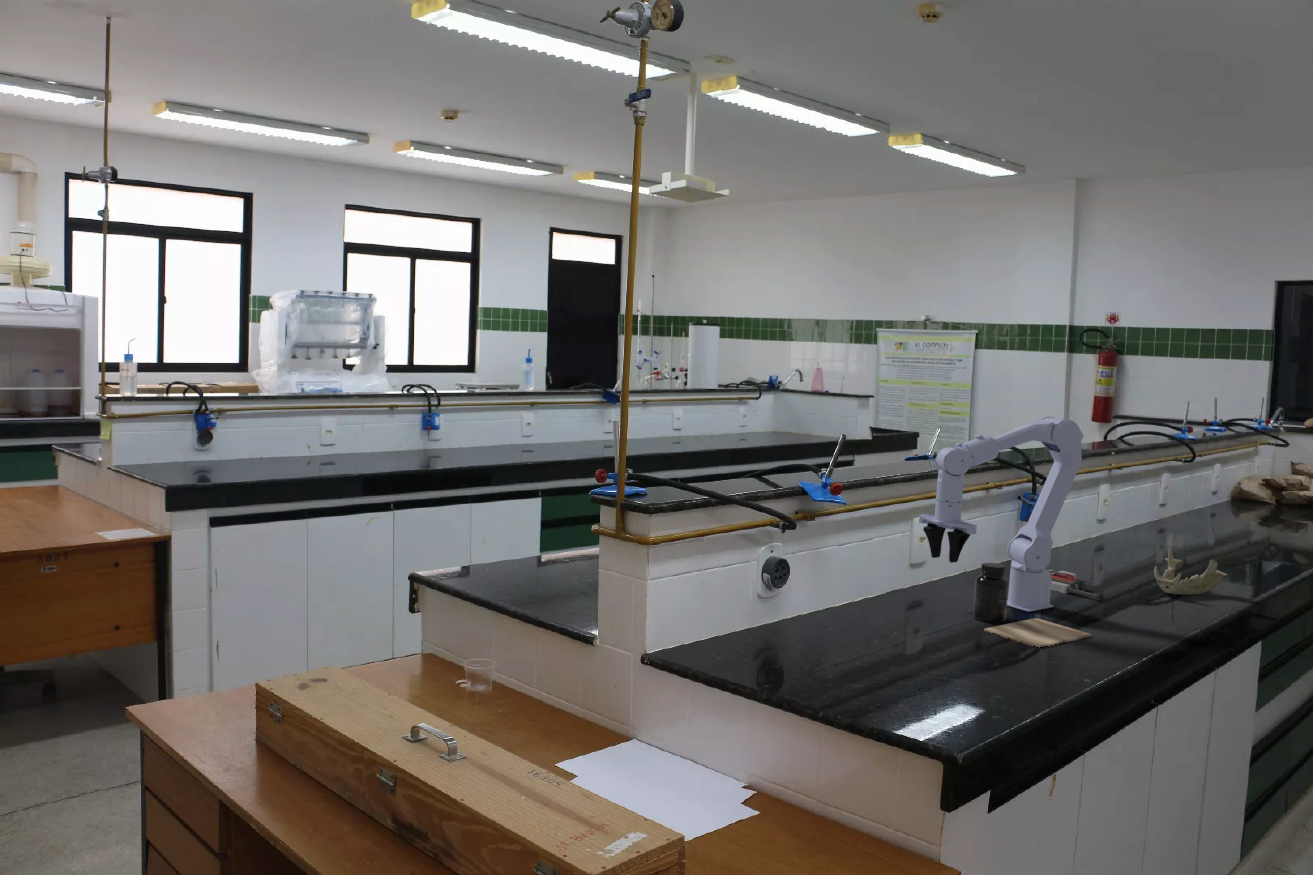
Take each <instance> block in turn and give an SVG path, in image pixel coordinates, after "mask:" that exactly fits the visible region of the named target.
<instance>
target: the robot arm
mask: <svg viewBox="0 0 1313 875" xmlns="http://www.w3.org/2000/svg"><path fill="white" fill-rule="evenodd" d="M1083 438H1084V433H1082V431H1081V428H1080V427H1079V425H1078V424H1077V423H1076V422H1075V421H1074V420H1071V419H1065V418H1064V419H1063V418H1057V417H1054V416H1044V417H1042V418H1041V419H1040V418H1038V419H1033V420H1032V421H1030V422H1027V423H1025V424H1023V425H1020V426H1018V427H1016V428H1013V429H1010V430H1008V431H1007V432H1004V433H1001V434H999V435H997V436H995V437H992V436H990V435H988V434H985V435H983V434H977V435H975V436H974V439H972V440H969V441H966V442H963V443H962V442H957V443H956V444H955V447H948V446H947V447H945V448H941V450H940V451H939V452H937V454H936V457H935V458H934V465H935V467H936V468H937V470H938V472H937V481H936V495H935V505H934V506H935V509H934V510H935V511H934V515H932V514H926V513H925V514H919V520H918V523H919V524H926V526H923V530H922V531H923V533H925V535H926V538H927V542H928V545H929V550H930V555H931V558H932V559H936V558H940V557H941V553H942V543H943V539H944V534H945V532H946V529H948V530H952V531H947V537H948V545H949V551H948V561H949V563H951V564H952V563H953V564H954V563H958V562H959V558H960V555H961V552H962V550H963V548H964V545H966V542H967V541H968V540H969V538H970V537H971V535H976V534H977V528H978V527H977V526H978V525H976V524H972V523H970V522H966V521H964V520H962V508H963V498H964V497H963V496H964V495H963V494H964V484H965V483H964V481H965V480H964V479H965V474H966V472H968V470H969V469H972V468H973V467H976V466H979V465H981V464H984V463H986V462H990V461H992V460H995V459H996V458H997V457H998V455H999V453H1000V452H1002V451H1004V450H1007V449H1011V448H1014V447H1017V446H1019V445H1023V444H1026V443H1029V442H1033V441H1034V442H1035V441H1036V442H1040V443H1041V444H1042V445H1043V446H1045V447H1046V449H1047V450H1048V451H1049V453H1050V455H1051V456H1050V457H1052V459H1053V464H1052V466H1051V469H1050V471H1049V473H1048V475H1047V478H1046V480H1045V482H1044V484H1043V486H1042V488H1041V491H1040V493H1039V496H1038V498H1037V500H1036V502H1035V505H1034V508H1033V509H1032V512H1031V515H1030V516H1029V519H1028V521H1027V523H1026V524H1025V525H1024V526H1022V527H1021V528H1019V530H1018V531H1017V533H1016V534H1015V536H1014V537H1013V538H1012V539H1011V540H1010V541H1009V542H1008V545H1007V549H1006V550H1007V551H1006V552H1007V555H1008V557H1009V559H1010V560H1011V563H1010V572H1009V581H1008V596H1007V607H1011V608H1014V609H1018V610H1021V611H1025V612H1029V613H1030V612H1035V611H1040V610H1045V609H1050V608H1053V607H1054V605H1053V604H1051V603H1050V602H1051V593H1052V592H1051V591H1052V590H1051V583H1052V580H1051V576H1050V573H1049V572H1048V571H1047V570H1048V569H1046V568H1047V567H1048V565H1049V564H1050V562H1051V559H1052V556H1051V553H1052V552H1051V551H1052V548H1053V545H1054V543H1053V542H1054V541H1053V539H1052V538H1053V537H1052V531H1053V528H1054V526H1055V524H1056V521H1057V519H1058V518H1059V515H1060V513H1061V510H1062V508H1063V506H1064V503H1065V501H1066V499H1067V496H1068V494H1069V491H1070V490H1071V487H1072V485H1073V483H1074V481H1075V478H1076V476H1077V474H1078V471H1079V469H1080V466H1081V465H1082V459H1083V458H1082V457H1083V456H1082V441H1083Z"/></svg>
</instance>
